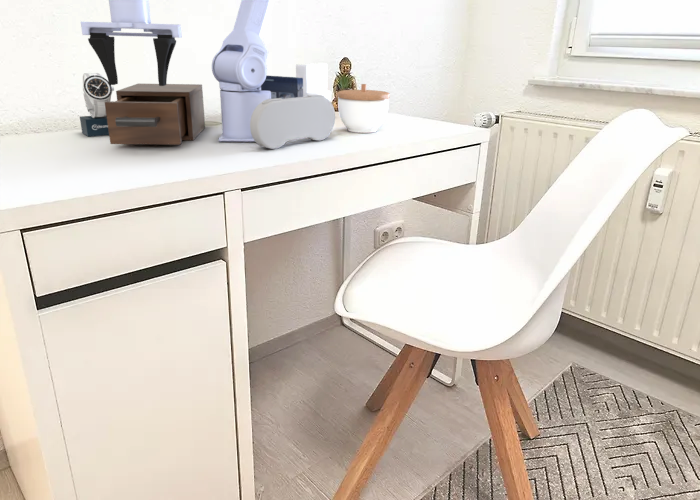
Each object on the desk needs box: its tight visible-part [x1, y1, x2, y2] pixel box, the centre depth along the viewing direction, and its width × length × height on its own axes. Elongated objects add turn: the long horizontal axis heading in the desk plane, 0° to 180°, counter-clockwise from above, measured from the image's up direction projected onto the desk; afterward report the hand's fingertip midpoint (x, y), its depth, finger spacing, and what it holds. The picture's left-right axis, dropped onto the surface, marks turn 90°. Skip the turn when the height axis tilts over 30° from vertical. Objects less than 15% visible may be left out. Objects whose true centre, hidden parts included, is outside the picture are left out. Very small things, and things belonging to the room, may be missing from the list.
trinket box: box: [336, 83, 391, 134], centre depth 113 cm, size 11×11×9 cm
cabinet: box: [115, 83, 206, 141], centre depth 105 cm, size 15×13×9 cm
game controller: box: [250, 95, 336, 150], centre depth 98 cm, size 20×2×8 cm, turn 140°
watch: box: [79, 72, 115, 138], centre depth 102 cm, size 6×8×11 cm
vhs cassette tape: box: [261, 75, 303, 99], centre depth 120 cm, size 18×3×10 cm, turn 64°
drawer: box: [105, 96, 188, 146], centre depth 94 cm, size 18×11×7 cm, turn 5°
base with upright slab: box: [295, 62, 332, 103], centre depth 129 cm, size 9×9×12 cm
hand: (138, 84), depth 88 cm, fingers open, 7 cm apart
